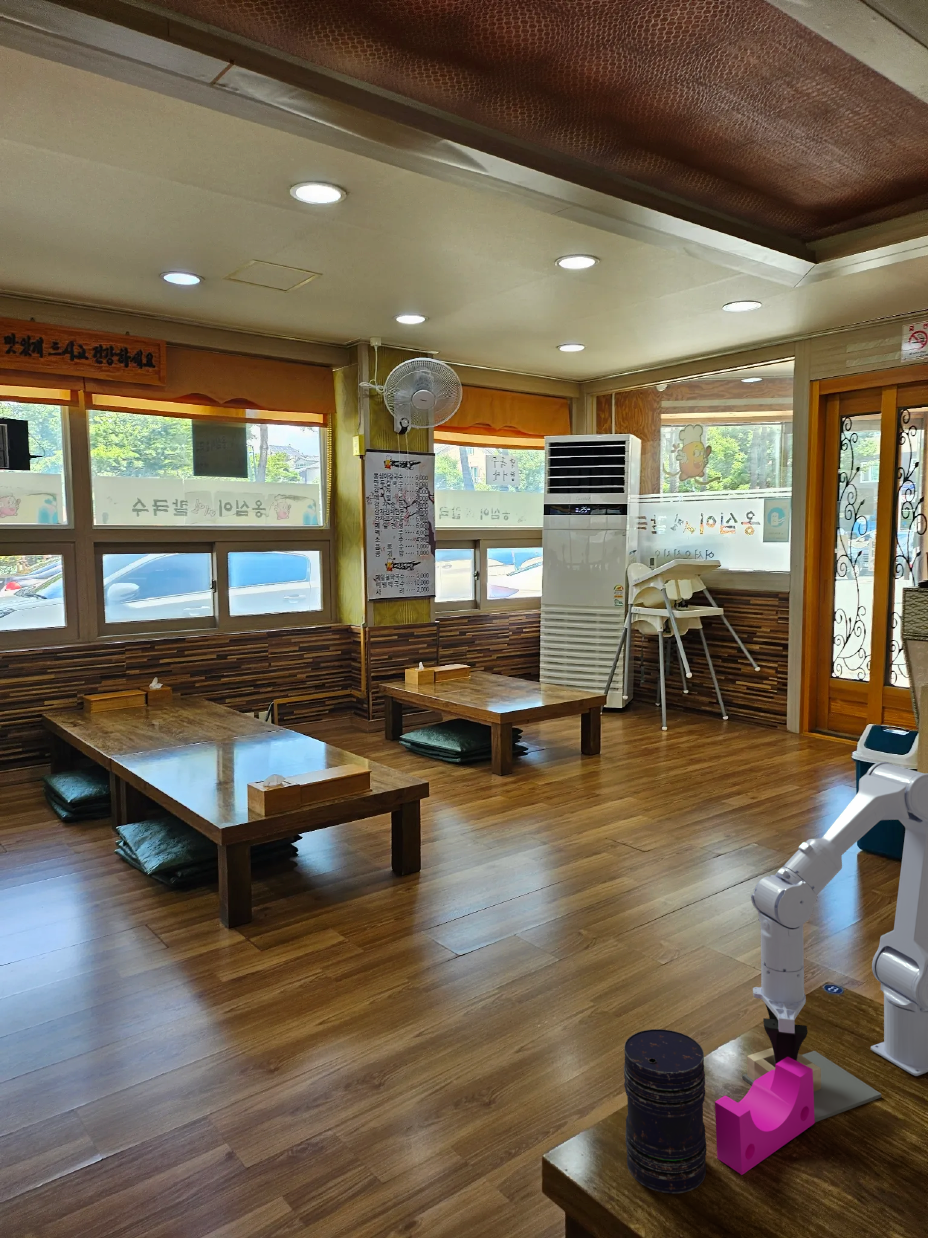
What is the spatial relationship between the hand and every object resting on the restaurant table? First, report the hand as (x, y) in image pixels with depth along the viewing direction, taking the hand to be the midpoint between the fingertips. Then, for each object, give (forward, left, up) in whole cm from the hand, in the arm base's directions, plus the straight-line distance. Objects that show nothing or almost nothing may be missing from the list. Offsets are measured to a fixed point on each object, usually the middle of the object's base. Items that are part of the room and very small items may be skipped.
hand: (783, 1055), depth 122 cm
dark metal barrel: (+25, +6, -5) cm, 26 cm away
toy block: (+11, +7, -4) cm, 14 cm away
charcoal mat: (-3, +2, -4) cm, 6 cm away
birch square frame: (0, 0, -4) cm, 4 cm away
